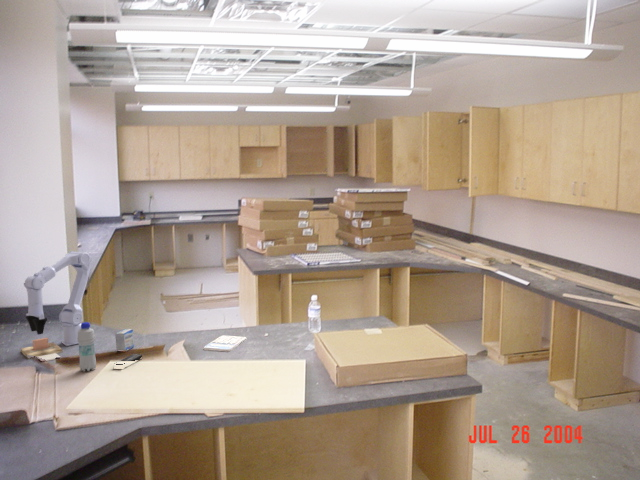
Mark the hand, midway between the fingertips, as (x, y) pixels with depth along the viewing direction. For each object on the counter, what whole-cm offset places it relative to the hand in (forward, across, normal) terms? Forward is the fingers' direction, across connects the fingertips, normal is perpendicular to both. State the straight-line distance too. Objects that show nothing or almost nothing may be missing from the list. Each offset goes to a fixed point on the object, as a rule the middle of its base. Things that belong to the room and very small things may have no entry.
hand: (37, 332), depth 253 cm
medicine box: (+10, +24, +30) cm, 39 cm away
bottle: (+10, +39, +6) cm, 41 cm away
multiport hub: (+10, +44, +21) cm, 50 cm away
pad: (+10, +11, +1) cm, 14 cm away
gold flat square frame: (+10, -1, +2) cm, 10 cm away
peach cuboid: (+10, -1, +2) cm, 10 cm away
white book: (+10, +52, +65) cm, 84 cm away
